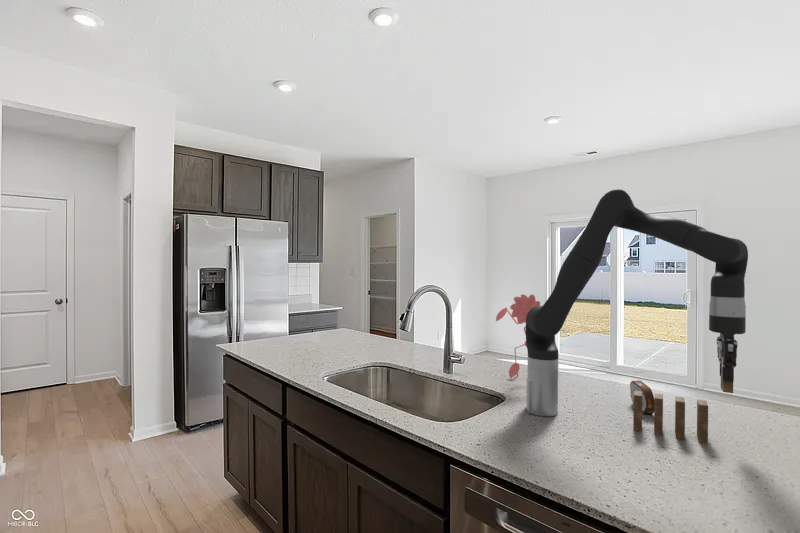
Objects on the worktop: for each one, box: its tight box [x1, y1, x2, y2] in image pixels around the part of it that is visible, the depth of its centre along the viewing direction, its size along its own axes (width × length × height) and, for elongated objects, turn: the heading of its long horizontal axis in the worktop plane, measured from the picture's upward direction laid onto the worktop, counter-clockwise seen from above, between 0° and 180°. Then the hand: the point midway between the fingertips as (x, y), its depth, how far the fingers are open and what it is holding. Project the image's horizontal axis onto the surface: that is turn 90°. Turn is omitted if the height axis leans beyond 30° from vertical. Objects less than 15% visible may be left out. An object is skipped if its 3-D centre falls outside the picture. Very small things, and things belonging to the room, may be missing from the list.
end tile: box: [720, 353, 734, 394], centre depth 109 cm, size 2×5×10 cm, turn 149°
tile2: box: [653, 392, 664, 437], centre depth 117 cm, size 2×5×10 cm, turn 149°
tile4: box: [696, 399, 709, 445], centre depth 112 cm, size 2×5×10 cm, turn 148°
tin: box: [629, 380, 654, 415], centre depth 136 cm, size 15×3×8 cm, turn 168°
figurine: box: [495, 293, 541, 379], centre depth 167 cm, size 15×26×35 cm, turn 61°
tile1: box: [632, 390, 643, 433], centre depth 120 cm, size 2×5×10 cm, turn 149°
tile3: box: [674, 396, 686, 441], centre depth 114 cm, size 2×5×10 cm, turn 149°
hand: (726, 379), depth 109 cm, fingers closed on end tile, 5 cm apart
